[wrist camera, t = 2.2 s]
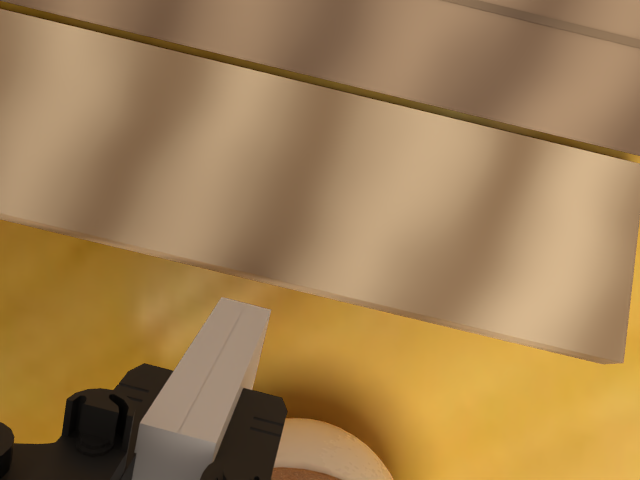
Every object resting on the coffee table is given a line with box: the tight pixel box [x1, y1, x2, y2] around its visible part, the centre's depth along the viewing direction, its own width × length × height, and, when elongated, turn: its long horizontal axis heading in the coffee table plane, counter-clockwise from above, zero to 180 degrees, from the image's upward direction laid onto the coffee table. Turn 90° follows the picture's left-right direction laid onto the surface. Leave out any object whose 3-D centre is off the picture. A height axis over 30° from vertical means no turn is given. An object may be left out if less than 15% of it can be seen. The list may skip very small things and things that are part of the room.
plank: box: [0, 9, 640, 364], centre depth 24 cm, size 28×8×2 cm
